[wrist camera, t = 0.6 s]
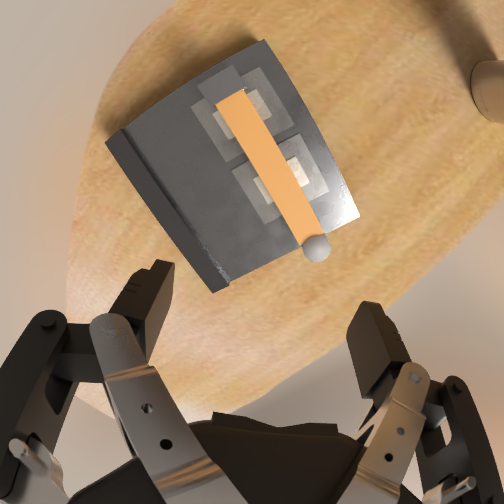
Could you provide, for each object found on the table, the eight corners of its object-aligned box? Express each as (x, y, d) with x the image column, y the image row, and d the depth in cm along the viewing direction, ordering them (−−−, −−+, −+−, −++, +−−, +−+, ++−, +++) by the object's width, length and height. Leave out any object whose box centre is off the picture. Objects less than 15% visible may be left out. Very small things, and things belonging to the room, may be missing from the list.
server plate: (263, 44, 26) (264, 36, 23) (353, 208, 35) (363, 220, 32) (117, 139, 31) (102, 143, 28) (215, 278, 40) (212, 295, 36)
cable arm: (234, 68, 24) (232, 64, 22) (331, 240, 32) (338, 252, 30) (202, 87, 25) (196, 85, 22) (303, 254, 33) (307, 268, 31)
